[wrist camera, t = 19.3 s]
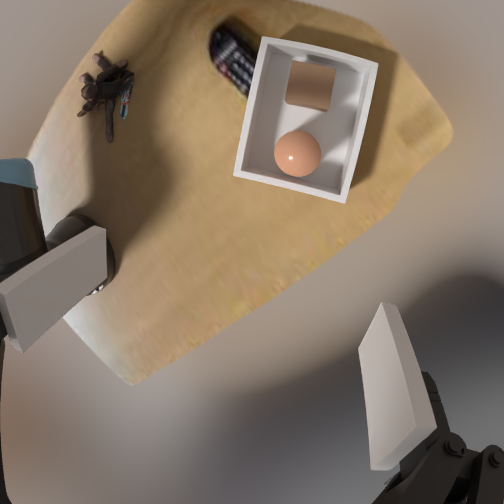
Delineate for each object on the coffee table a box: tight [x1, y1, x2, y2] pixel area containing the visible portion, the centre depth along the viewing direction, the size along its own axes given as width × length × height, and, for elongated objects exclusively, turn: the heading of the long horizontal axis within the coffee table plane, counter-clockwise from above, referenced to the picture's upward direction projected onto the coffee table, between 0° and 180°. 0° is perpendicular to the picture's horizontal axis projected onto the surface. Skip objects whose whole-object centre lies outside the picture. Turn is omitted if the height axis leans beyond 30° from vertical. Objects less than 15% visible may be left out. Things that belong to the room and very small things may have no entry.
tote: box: [233, 36, 378, 204], centre depth 33 cm, size 14×18×5 cm
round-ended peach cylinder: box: [274, 131, 321, 177], centre depth 33 cm, size 5×5×7 cm
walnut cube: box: [285, 60, 336, 112], centre depth 31 cm, size 5×5×5 cm
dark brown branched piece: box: [77, 53, 134, 143], centre depth 38 cm, size 12×10×12 cm
